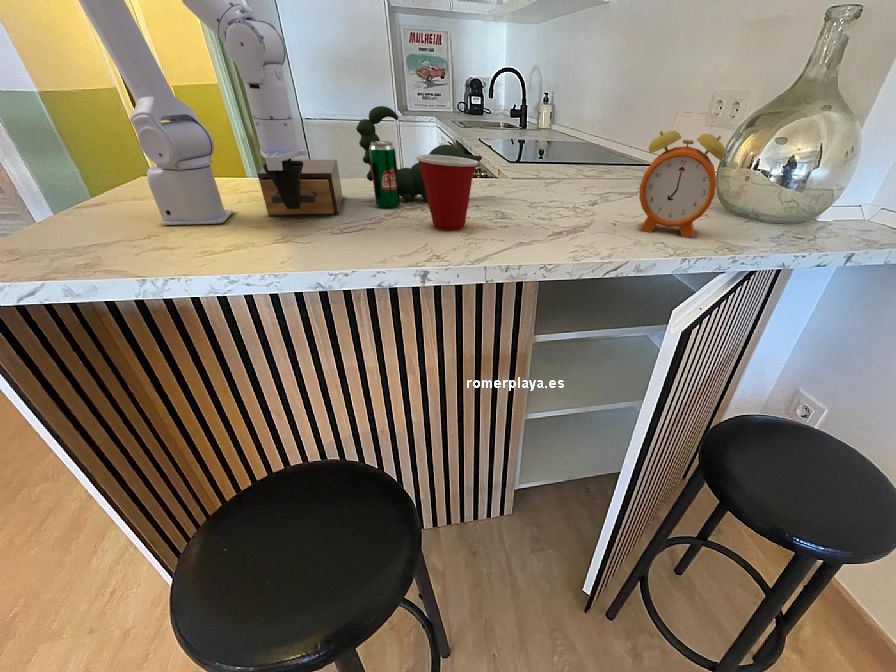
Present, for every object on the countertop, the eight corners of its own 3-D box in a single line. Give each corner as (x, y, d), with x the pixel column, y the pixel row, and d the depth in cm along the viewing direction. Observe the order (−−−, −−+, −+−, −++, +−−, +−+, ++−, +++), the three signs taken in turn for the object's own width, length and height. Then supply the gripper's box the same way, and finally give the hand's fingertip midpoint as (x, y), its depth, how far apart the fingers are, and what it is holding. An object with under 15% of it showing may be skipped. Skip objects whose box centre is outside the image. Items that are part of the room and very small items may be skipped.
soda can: (387, 210, 92) (379, 144, 85) (371, 205, 94) (362, 141, 87) (405, 206, 95) (399, 142, 88) (390, 201, 97) (383, 139, 90)
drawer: (331, 220, 81) (325, 186, 78) (263, 221, 79) (253, 186, 76) (338, 196, 96) (333, 167, 92) (281, 197, 93) (273, 167, 90)
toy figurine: (372, 212, 96) (487, 202, 98) (348, 109, 85) (479, 101, 87) (376, 201, 103) (483, 192, 106) (355, 106, 92) (475, 98, 94)
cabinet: (338, 215, 87) (331, 173, 83) (268, 216, 85) (257, 173, 80) (343, 197, 99) (336, 159, 95) (281, 198, 96) (272, 159, 92)
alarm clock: (631, 230, 87) (654, 111, 76) (635, 222, 92) (657, 109, 80) (701, 240, 84) (737, 117, 72) (702, 231, 89) (735, 114, 77)
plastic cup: (490, 227, 85) (491, 158, 78) (446, 239, 78) (443, 163, 71) (453, 215, 91) (450, 149, 84) (409, 225, 84) (403, 154, 77)
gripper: (293, 123, 65) (313, 219, 73) (306, 114, 77) (322, 197, 84) (240, 122, 64) (266, 220, 72) (261, 113, 75) (282, 198, 83)
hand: (293, 208), depth 78 cm, fingers closed
